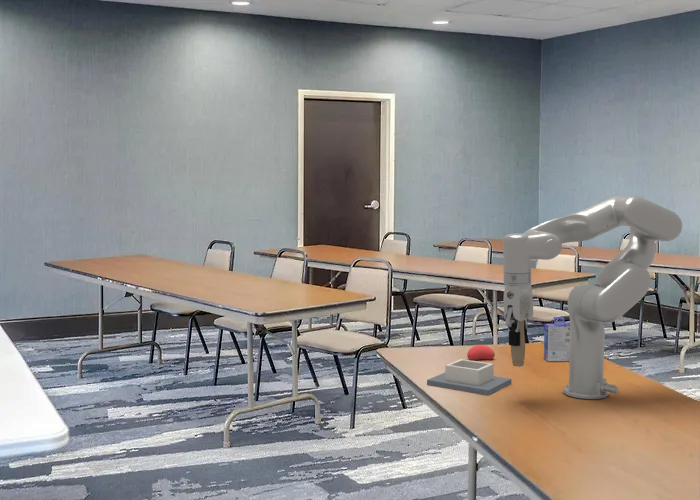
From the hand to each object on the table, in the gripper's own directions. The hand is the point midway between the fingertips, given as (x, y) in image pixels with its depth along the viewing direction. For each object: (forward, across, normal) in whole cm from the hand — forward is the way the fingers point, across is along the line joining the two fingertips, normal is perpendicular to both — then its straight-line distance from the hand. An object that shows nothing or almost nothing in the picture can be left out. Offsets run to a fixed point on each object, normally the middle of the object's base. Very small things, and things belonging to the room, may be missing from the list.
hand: (518, 343), depth 227 cm
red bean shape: (+17, +39, +31) cm, 52 cm away
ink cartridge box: (+18, +54, +9) cm, 57 cm away
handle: (+7, 0, 0) cm, 7 cm away
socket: (+16, +7, +19) cm, 26 cm away
